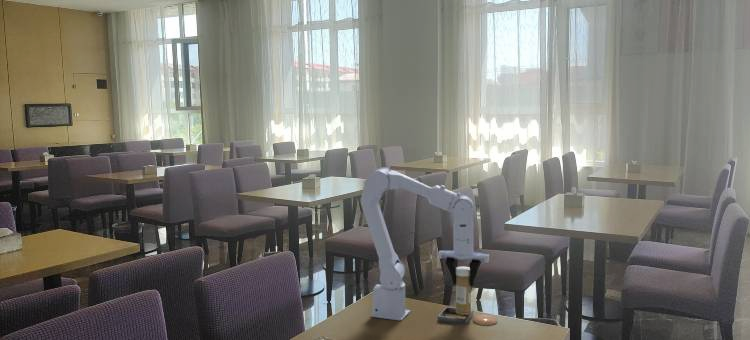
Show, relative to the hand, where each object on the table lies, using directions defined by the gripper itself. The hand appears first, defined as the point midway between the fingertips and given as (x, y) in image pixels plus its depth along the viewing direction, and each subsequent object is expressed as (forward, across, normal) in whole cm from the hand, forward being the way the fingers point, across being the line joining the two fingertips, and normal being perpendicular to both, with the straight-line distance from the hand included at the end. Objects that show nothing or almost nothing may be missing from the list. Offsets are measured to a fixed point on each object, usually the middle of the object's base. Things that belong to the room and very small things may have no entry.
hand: (463, 284), depth 167 cm
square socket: (+10, -2, 0) cm, 11 cm away
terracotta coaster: (+10, +6, +1) cm, 12 cm away
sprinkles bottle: (+9, 0, 0) cm, 9 cm away
